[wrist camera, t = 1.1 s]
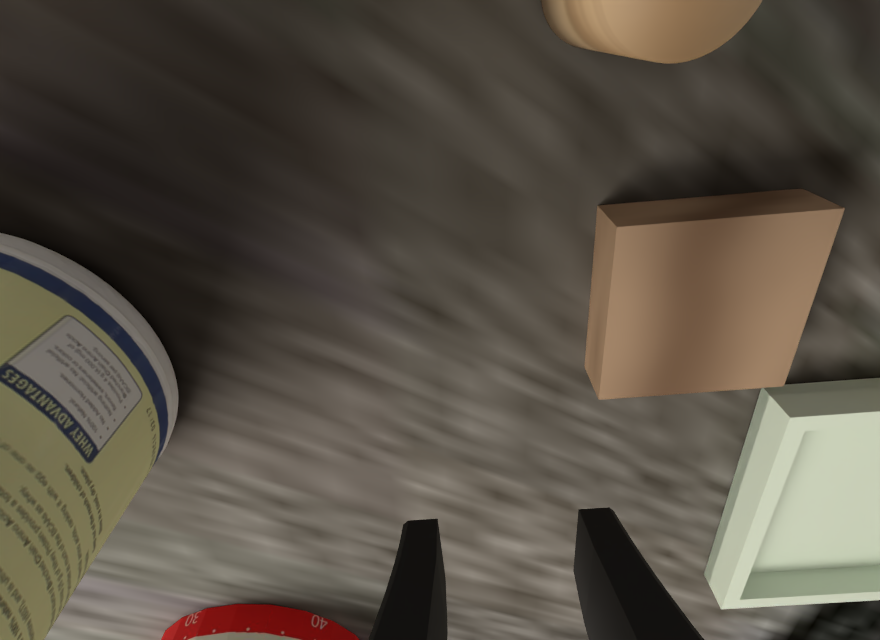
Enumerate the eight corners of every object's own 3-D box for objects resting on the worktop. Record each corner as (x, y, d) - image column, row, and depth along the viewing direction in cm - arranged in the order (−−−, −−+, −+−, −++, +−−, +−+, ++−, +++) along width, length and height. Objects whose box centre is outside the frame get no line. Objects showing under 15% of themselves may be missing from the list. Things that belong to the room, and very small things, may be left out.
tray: (1040, 365, 21) (1093, 396, 20) (912, 561, 28) (943, 596, 27) (762, 386, 22) (790, 417, 20) (704, 574, 29) (721, 609, 27)
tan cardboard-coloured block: (794, 185, 18) (844, 208, 16) (748, 349, 21) (783, 386, 19) (594, 202, 18) (616, 227, 16) (582, 361, 21) (598, 399, 19)
